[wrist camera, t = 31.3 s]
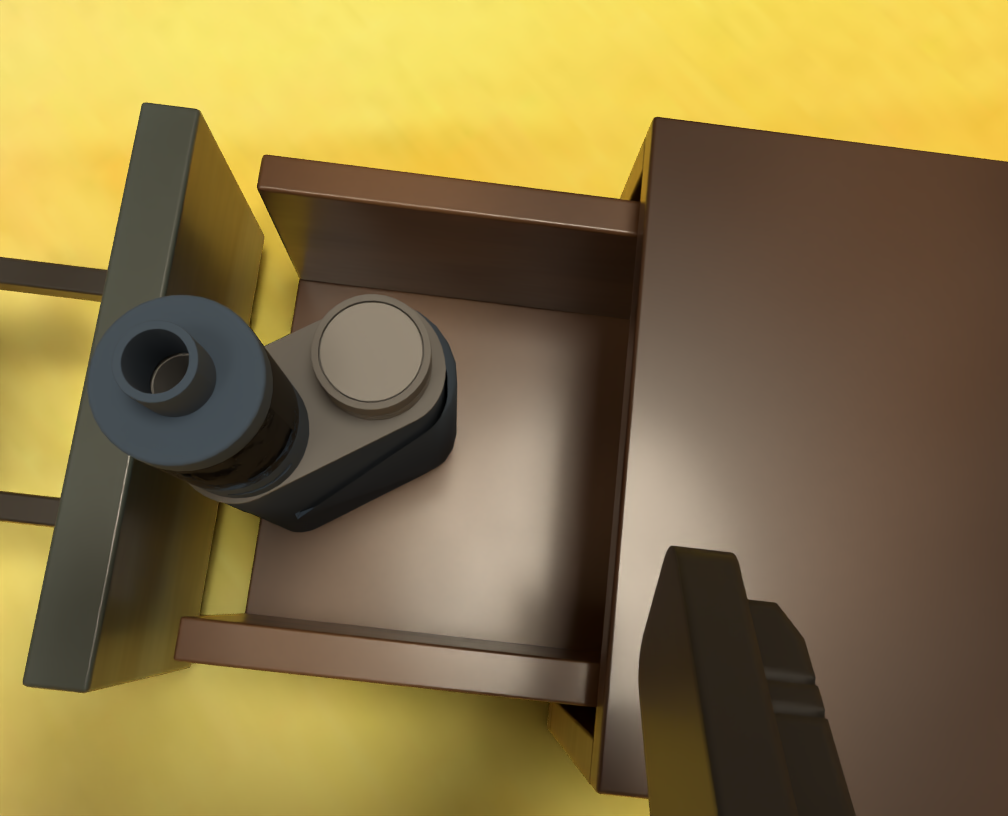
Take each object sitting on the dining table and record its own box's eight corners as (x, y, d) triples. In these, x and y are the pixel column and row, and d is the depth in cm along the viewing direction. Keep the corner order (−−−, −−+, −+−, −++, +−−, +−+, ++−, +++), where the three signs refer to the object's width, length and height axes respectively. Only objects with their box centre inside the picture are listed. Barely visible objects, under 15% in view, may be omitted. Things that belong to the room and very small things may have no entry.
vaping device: (235, 458, 23) (16, 312, 12) (427, 365, 24) (402, 141, 12) (279, 552, 23) (97, 500, 11) (473, 456, 24) (492, 312, 12)
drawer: (-92, 637, 23) (-311, 651, 17) (9, 203, 26) (-147, 63, 19) (724, 727, 24) (828, 774, 17) (749, 294, 26) (850, 189, 20)
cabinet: (546, 729, 24) (595, 794, 16) (591, 266, 27) (653, 114, 19) (1138, 793, 25) (1486, 889, 17) (1126, 332, 28) (1422, 213, 19)
